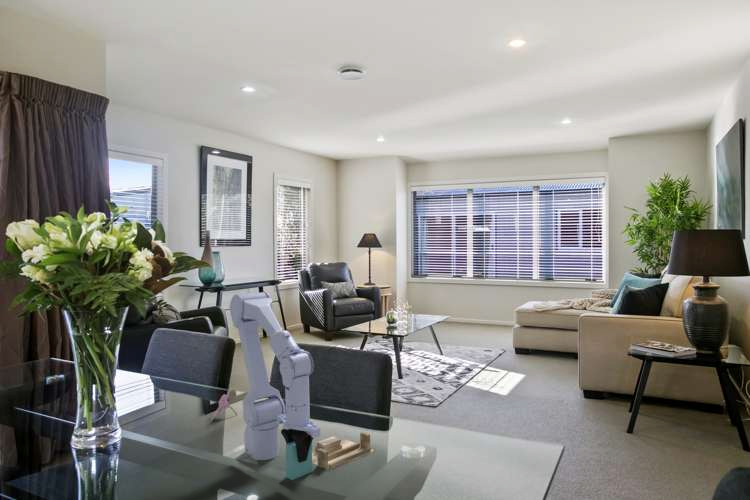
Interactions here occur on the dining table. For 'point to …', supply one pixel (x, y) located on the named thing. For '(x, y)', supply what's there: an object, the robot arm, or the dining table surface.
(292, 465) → the teal panel
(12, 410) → the dining table surface
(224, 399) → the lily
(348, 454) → the birch rack
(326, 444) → the offcut stack
